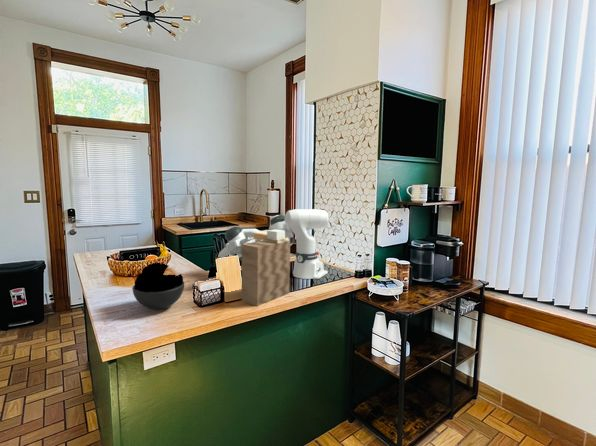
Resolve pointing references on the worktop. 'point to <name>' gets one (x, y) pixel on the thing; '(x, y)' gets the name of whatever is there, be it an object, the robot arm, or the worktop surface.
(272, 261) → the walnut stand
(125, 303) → the worktop surface
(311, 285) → the worktop surface
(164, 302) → the dark grey bowl
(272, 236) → the mallet
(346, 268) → the worktop surface
